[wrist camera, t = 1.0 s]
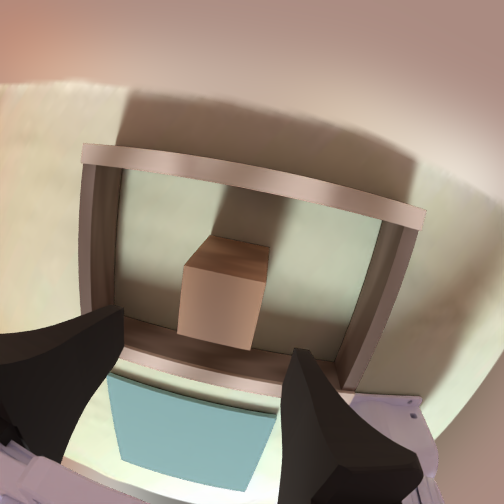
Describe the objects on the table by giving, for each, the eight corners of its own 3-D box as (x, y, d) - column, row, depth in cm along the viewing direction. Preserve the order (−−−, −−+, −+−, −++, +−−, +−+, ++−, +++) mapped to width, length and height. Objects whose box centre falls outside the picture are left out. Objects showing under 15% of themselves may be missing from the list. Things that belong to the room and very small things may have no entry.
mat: (276, 414, 25) (276, 418, 24) (245, 488, 29) (244, 491, 29) (108, 372, 25) (106, 375, 24) (122, 457, 30) (121, 459, 29)
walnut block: (269, 247, 20) (266, 282, 14) (257, 301, 21) (250, 350, 16) (209, 235, 20) (184, 265, 14) (201, 289, 21) (177, 333, 16)
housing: (401, 200, 18) (426, 210, 15) (341, 373, 23) (348, 405, 19) (113, 144, 19) (83, 143, 15) (104, 320, 23) (82, 344, 19)
